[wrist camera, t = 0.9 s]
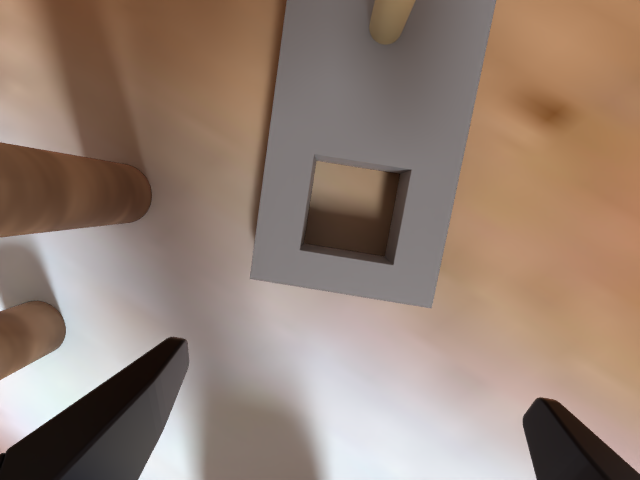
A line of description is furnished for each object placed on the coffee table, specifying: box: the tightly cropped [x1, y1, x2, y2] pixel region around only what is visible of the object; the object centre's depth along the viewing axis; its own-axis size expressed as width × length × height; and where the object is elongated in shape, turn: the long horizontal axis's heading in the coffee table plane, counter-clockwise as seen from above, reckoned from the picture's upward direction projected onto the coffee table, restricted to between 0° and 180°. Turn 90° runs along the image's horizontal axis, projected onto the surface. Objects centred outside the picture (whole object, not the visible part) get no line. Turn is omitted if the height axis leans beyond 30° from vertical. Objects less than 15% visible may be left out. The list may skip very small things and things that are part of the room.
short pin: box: [0, 301, 66, 380], centre depth 21 cm, size 4×4×5 cm
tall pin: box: [0, 143, 152, 237], centre depth 15 cm, size 4×4×14 cm
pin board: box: [250, 0, 496, 308], centre depth 13 cm, size 20×11×16 cm, turn 171°
